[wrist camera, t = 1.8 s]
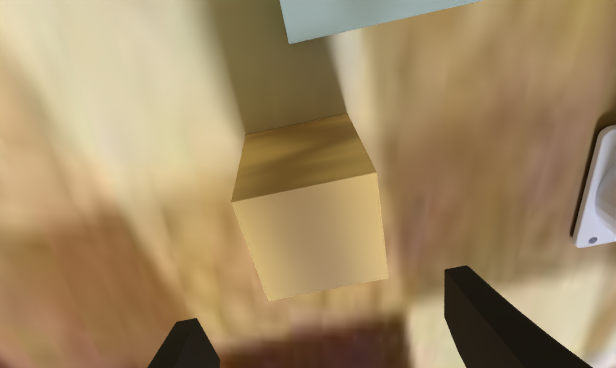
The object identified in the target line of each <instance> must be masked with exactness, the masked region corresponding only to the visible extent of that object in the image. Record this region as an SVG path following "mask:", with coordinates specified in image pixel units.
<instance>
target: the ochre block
mask: <svg viewBox="0 0 616 368" xmlns="http://www.w3.org/2000/svg"><path fill="white" fill-rule="evenodd" d="M231 204H232V206H233V209H234V212H235V214H236V217H237V220H238V222H239V225H240V228H241V230H242V233H243V236H244V238H245V241H246V243H247V246H248V249H249V251H250V254H251V257H252V259H253V262H254V265H255V267H256V270H257V273H258V275H259V278H260V280H261V283H262V286H263V288H264V291H265V294H266V296H267V299H268V301H272V300H277V299H282V298H288V297H293V296H298V295H303V294H308V293H313V292H318V291H324V290H329V289H334V288H339V287H344V286H349V285H355V284H360V283H365V282H370V281H375V280H380V279H385V278H388V270H387V261H386V252H385V243H384V234H383V225H382V216H381V207H380V198H379V189H378V180H377V172H376V170H375V168H374V166H373V164H372V162H371V160H370V158H369V156H368V154H367V152H366V150H365V148H364V146H363V144H362V142H361V140H360V138H359V136H358V134H357V132H356V130H355V128H354V126H353V124H352V122H351V120H350V118H349V116H348V114H347V113H346V114H341V115H337V116H332V117H327V118H323V119H318V120H313V121H309V122H304V123H299V124H294V125H290V126H285V127H280V128H276V129H271V130H266V131H262V132H257V133H252V134H248V135H246V137H245V141H244V146H243V150H242V155H241V159H240V164H239V169H238V173H237V178H236V182H235V187H234V191H233V196H232V200H231Z"/></svg>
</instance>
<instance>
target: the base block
mask: <svg viewBox="0 0 616 368" xmlns="http://www.w3.org/2000/svg"><path fill="white" fill-rule="evenodd" d="M477 1H482V0H280V5H281V9H282V14H283V19H284V23H285V28H286V32H287V37H288V42H289V44H293V43H297V42H301V41H306V40H310V39H315V38H319V37H323V36H328V35H332V34H337V33H341V32H345V31H350V30H354V29H359V28H363V27H367V26H372V25H376V24H380V23H385V22H389V21H394V20H398V19H402V18H407V17H411V16H416V15H420V14H424V13H429V12H433V11H438V10H442V9H446V8H451V7H455V6H460V5H464V4H468V3H473V2H477Z"/></svg>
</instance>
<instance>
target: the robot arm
mask: <svg viewBox="0 0 616 368" xmlns="http://www.w3.org/2000/svg"><path fill="white" fill-rule="evenodd" d="M614 241H616V125H612V126H608V127H606V128H604V129H603V130H602V131H601V132H600V133H599V135H598V138H597V142H596V146H595V150H594V154H593V158H592V162H591V166H590V170H589V174H588V178H587V182H586V186H585V190H584V194H583V198H582V202H581V206H580V210H579V214H578V218H577V222H576V226H575V230H574V234H573V238H572V243H573V244H574V245H575V246H576V247H578V248H583V247H588V246H594V245H599V244H604V243H609V242H614ZM444 317H445V320H446V322H447V325H448V327H449V330H450V332H451V335H452V337H453V340H454V342H455V345H456V347H457V350H458V352H459V354H460V356H461V358H462V360H463V362H464V364H465V366H466V368H593V367H591V366H590V365H588V364H587V363H586V362H584V361H583V360H582V359H580V358H579V357H577V356H576V355H575V354H573V353H572V352H571V351H569V350H568V349H567V348H565V347H564V346H563V345H561V344H560V343H559V342H557V341H556V340H555V339H554V338H552V337H551V336H550V335H548V334H547V333H546V332H545V331H543V330H542V329H541V328H540V327H538V326H537V325H536V324H535V323H533V322H532V321H531V320H530V319H529V318H527V317H526V316H525V315H524V314H522V313H521V312H520V311H519V310H518V309H516V308H515V307H514V306H513V305H512V304H510V303H509V302H508V301H507V300H506V299H505V298H503V297H502V296H501V295H500V294H499V293H498V292H497V291H495V290H494V289H493V288H492V287H491V286H490V285H489V284H487V283H486V282H485V281H484V280H483V279H482V278H481V277H480V276H479V275H477V274H476V273H475V272H474V271H473V270H472V269H471V268H470V267H468V266H467V265H466V266H461V267H455V268H450V269H445V296H444ZM148 368H220V359H219V357H218V355H217V353H216V352H215V350H214V348H213V346H212V344H211V343H210V341H209V339H208V337H207V335H206V334H205V332H204V330H203V328H202V327H201V325H200V323H199V321H198V319H197V318H194V319H189V320H184V321H179V322H176V324H175V325H174V327H173V328H172V330H171V331H170V333H169V334H168V336H167V337H166V339H165V341H164V342H163V344H162V345H161V347H160V349H159V350H158V352H157V353H156V355H155V357H154V358H153V360H152V361H151V363H150V364H149V366H148Z"/></svg>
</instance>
